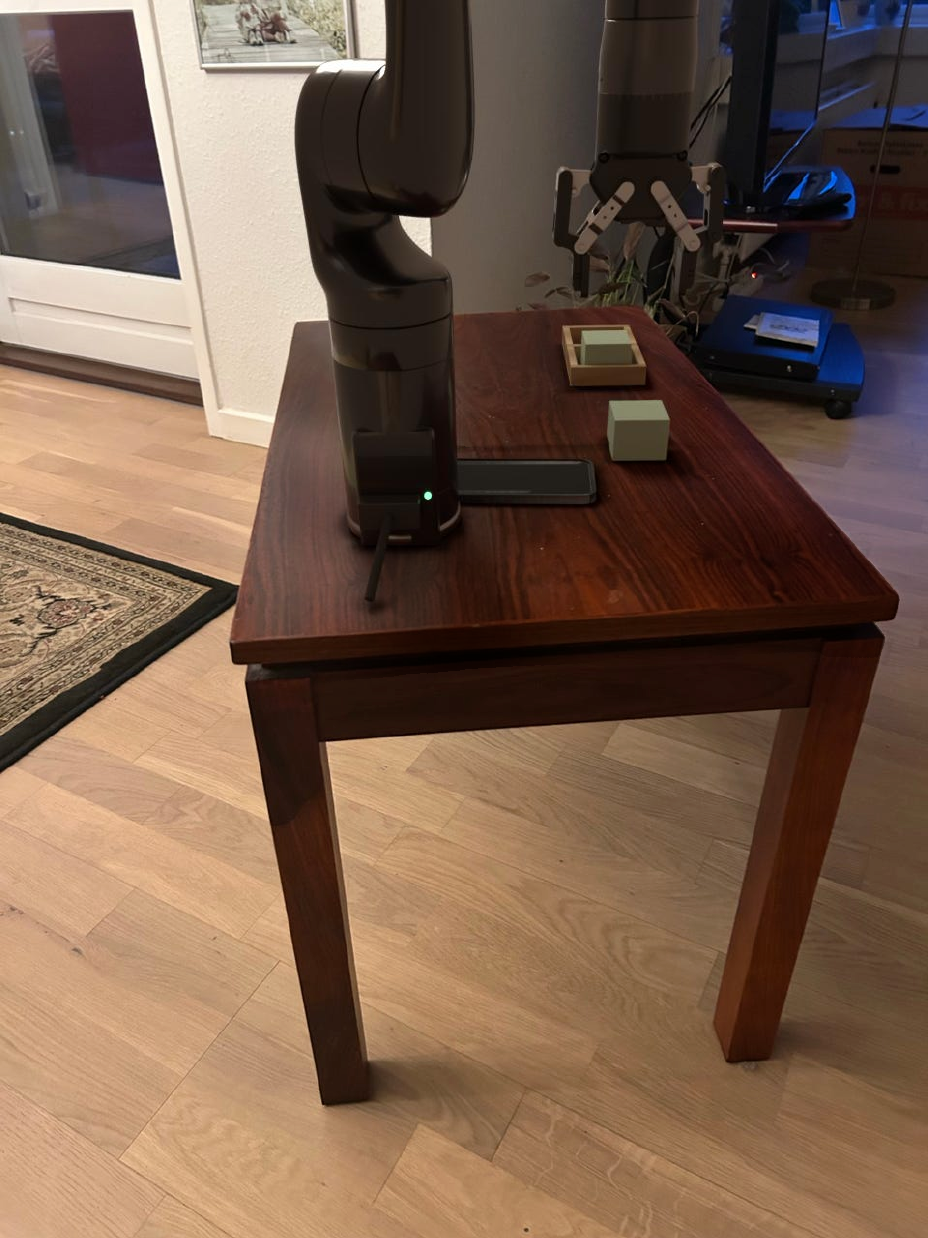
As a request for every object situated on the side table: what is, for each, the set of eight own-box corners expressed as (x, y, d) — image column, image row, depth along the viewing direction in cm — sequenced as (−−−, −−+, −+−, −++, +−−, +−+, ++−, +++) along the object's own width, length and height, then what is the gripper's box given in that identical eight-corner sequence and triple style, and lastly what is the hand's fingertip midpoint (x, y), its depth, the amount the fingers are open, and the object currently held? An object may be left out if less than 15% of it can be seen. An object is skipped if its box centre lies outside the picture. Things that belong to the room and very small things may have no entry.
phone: (430, 457, 88) (592, 458, 87) (430, 469, 88) (592, 469, 87) (421, 494, 81) (597, 495, 80) (422, 506, 82) (596, 507, 81)
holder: (644, 389, 103) (646, 366, 102) (570, 390, 104) (571, 367, 102) (627, 345, 116) (629, 324, 115) (561, 346, 117) (562, 325, 115)
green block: (666, 460, 88) (670, 419, 86) (612, 461, 88) (614, 420, 86) (658, 439, 92) (662, 399, 90) (606, 439, 92) (609, 400, 90)
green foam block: (629, 379, 104) (631, 343, 102) (583, 380, 105) (585, 344, 102) (623, 364, 109) (626, 329, 106) (580, 365, 109) (581, 330, 107)
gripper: (559, 92, 72) (554, 308, 81) (748, 86, 71) (721, 304, 81) (552, 83, 78) (548, 285, 87) (726, 78, 78) (703, 281, 87)
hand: (631, 294), depth 84 cm, fingers open, 8 cm apart
